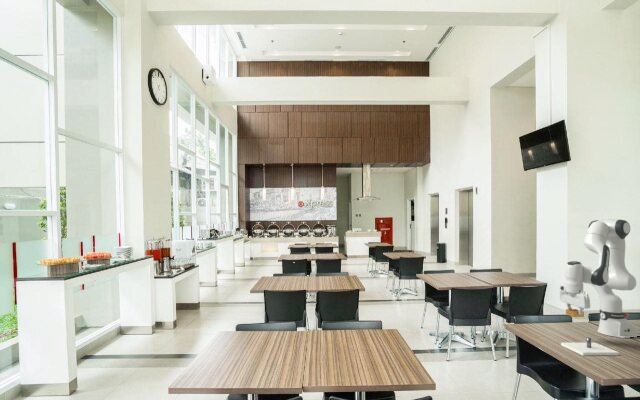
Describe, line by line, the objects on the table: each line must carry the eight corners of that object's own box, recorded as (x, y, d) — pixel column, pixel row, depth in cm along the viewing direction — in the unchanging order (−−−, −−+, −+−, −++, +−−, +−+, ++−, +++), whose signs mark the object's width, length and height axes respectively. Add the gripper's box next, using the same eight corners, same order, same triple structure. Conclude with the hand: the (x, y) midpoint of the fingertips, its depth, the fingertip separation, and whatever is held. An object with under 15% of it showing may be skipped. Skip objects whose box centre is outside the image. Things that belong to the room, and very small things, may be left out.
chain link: (575, 314, 230) (575, 309, 230) (584, 316, 224) (584, 311, 224) (565, 314, 230) (565, 309, 230) (573, 317, 223) (573, 311, 223)
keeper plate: (594, 345, 216) (594, 333, 217) (618, 355, 200) (618, 342, 201) (561, 345, 215) (561, 333, 215) (582, 355, 199) (582, 342, 199)
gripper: (593, 292, 217) (593, 317, 217) (567, 286, 238) (567, 308, 237) (582, 292, 217) (583, 317, 216) (557, 286, 237) (557, 308, 237)
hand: (574, 312), depth 227 cm, fingers closed on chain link, 6 cm apart
